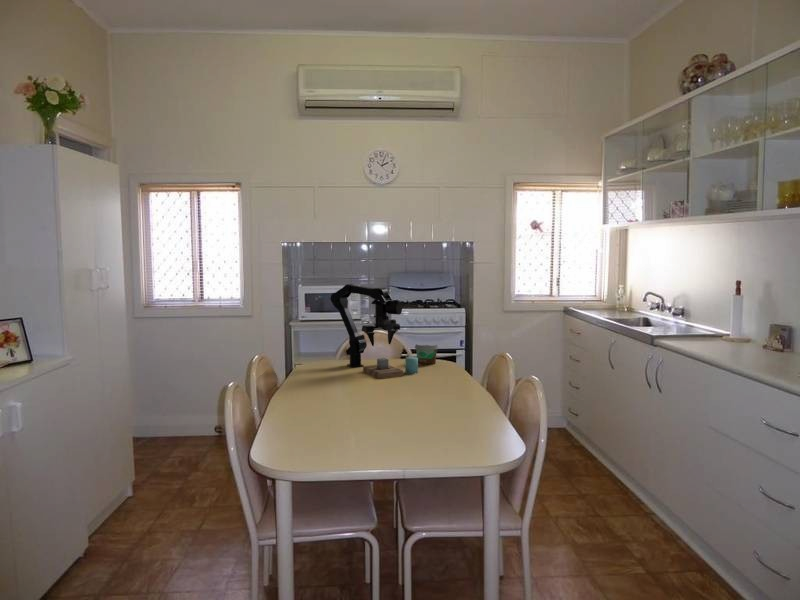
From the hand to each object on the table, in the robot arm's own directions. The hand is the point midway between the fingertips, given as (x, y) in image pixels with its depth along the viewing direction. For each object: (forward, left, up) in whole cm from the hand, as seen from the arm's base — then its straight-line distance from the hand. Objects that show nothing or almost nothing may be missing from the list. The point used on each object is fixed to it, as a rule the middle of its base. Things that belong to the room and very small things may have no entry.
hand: (381, 345), depth 277 cm
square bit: (+9, -4, -12) cm, 16 cm away
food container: (+1, +25, -12) cm, 28 cm away
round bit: (+14, +9, -12) cm, 21 cm away
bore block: (+9, -4, -12) cm, 16 cm away
